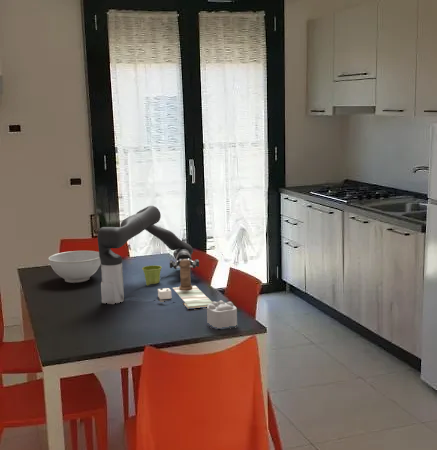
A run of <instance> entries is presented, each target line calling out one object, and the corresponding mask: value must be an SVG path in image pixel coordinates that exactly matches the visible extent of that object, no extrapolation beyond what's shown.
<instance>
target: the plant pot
mask: <svg viewBox="0 0 437 450" xmlns="http://www.w3.org/2000/svg"><path fill="white" fill-rule="evenodd" d="M141 268H142V271H143V275H144V279H145V284H146V286H150V285H155V284H158V283H160V278H161V271H162V266H161V265H146V266H143V267H141Z"/></svg>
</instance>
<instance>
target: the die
mask: <svg viewBox="0 0 437 450" xmlns="http://www.w3.org/2000/svg"><path fill="white" fill-rule="evenodd" d="M157 297H158V301H160V302H164V301H166V300H169V299H172V289H170V288H169V287H164V288H157ZM160 302H159V303H160ZM164 303H165V302H164Z"/></svg>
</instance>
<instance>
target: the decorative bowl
mask: <svg viewBox="0 0 437 450" xmlns="http://www.w3.org/2000/svg"><path fill="white" fill-rule="evenodd" d="M47 259H48V264H49V265H50V267H51V268H52V270H53V272H54V273H55V274H56V275H57V276H58V277H60V278H62V279H64V282H66V283H73V284H75V283H83V282H87V281H88V280H90V279H91V278H90V277H91V276H93V275H94V274H95V273H96V272H97V271H98V269H99V268H100V267H101V261H100V257H99V251H97V250H96V251H95V250H73V251H72V250H70V251H64V252H59V253H54V254H52V255H50V256H49V257H47Z"/></svg>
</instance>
